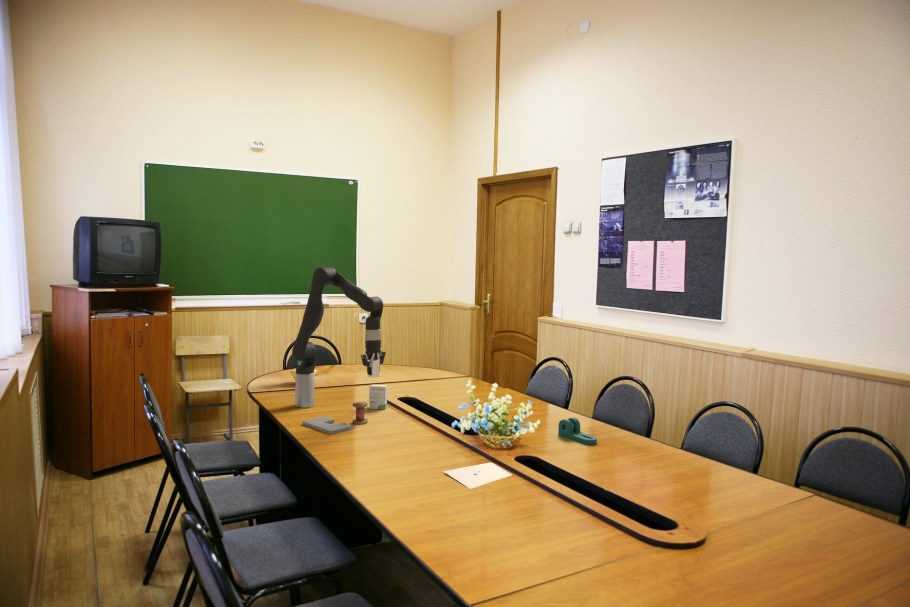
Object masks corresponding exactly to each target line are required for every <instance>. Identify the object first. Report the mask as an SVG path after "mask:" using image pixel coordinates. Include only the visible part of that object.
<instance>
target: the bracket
mask: <svg viewBox="0 0 910 607" xmlns="http://www.w3.org/2000/svg"><path fill="white" fill-rule="evenodd" d="M558 422H559V423H558V427H557V428H558V429H557V430H558V432H557V433H558V434H557V435H558V436H560V437H563V438H566V439H569V440H572V441H575V442H577V443H580V444H583V445H588V446H591V445H592V446H593V445H597V442H598V438H597V436H595V435H592V434H591V435H590V434H588V433H585V432H582V431H581V423H580V421H579V419H578V418H576V417H569V418H565V419H561V420H560V421H558Z"/></svg>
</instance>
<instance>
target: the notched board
mask: <svg viewBox="0 0 910 607" xmlns="http://www.w3.org/2000/svg"><path fill="white" fill-rule="evenodd" d="M302 425H304V426H306V427H309V428H312V429H315V430H317V431H321V432H324V433H326V434H328V435H334V434H338V433H342V432H346V431H350V430H353V429H354V425H352V424H349V423H345V422H343V421H342V422H337V423H335V418H330V417H328V416H326V415H325V416H319V417H315V418H311V419H305V420H302Z"/></svg>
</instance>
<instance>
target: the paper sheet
mask: <svg viewBox="0 0 910 607" xmlns="http://www.w3.org/2000/svg"><path fill="white" fill-rule="evenodd" d="M443 472H444V473H445V474H447V475H448V476H449V477H451V478H453V479H454V480H456V481H458V482H459V483H461V484H462V485H464V486H466V487H467V488H468V489H470V490H471V489H474V488H477V487H481V486H483V485H486V484H489V483H493V482H495V481H498V480H502V479H504V478H508V477H510V476H513V474H512V473H510V472H508V471H507V470H505V469H504V468H501V467H500V466H499V465H496V464H495V463H493V462H487V463H481V464H475V465H470V466H465V467H460V468H455V469H450V470H443Z"/></svg>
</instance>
